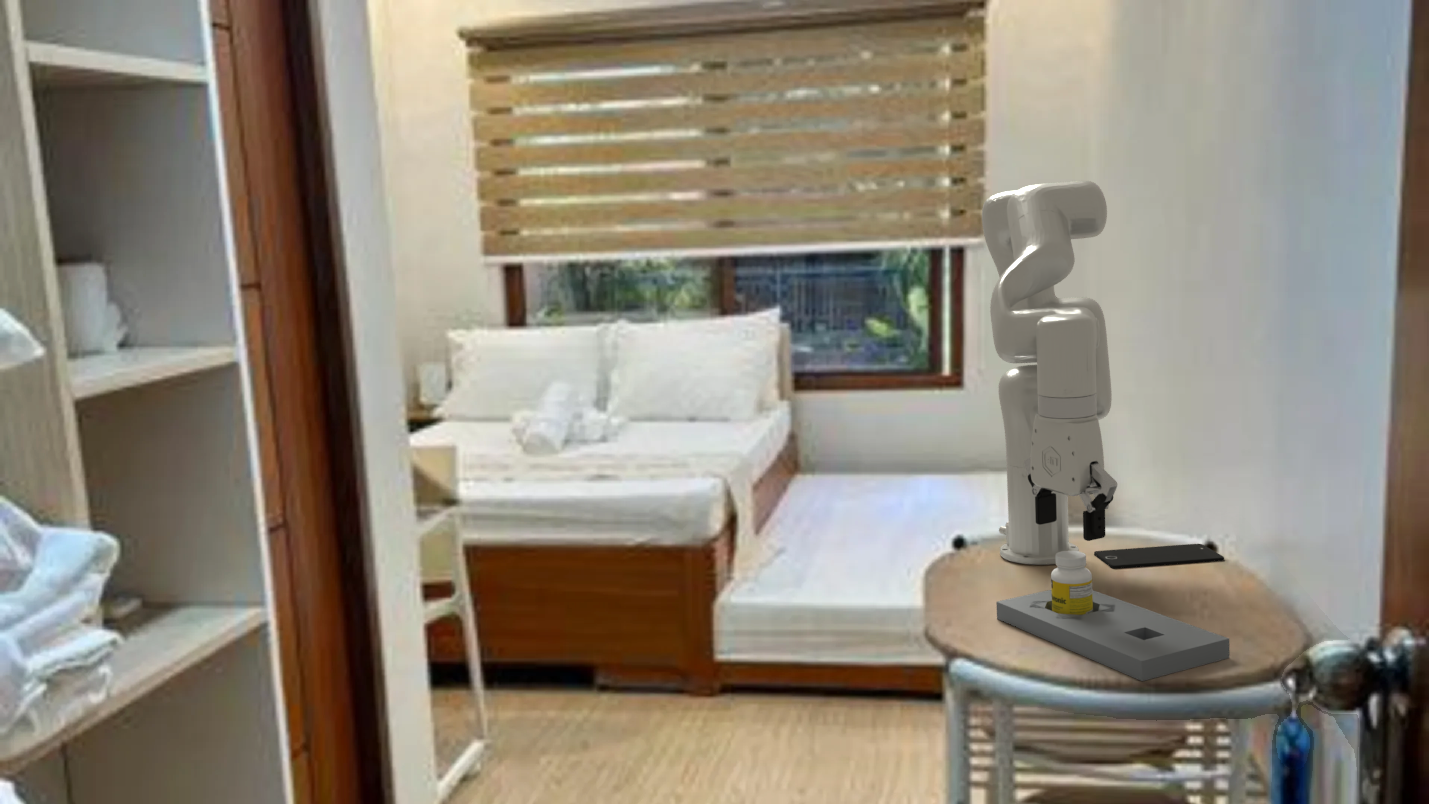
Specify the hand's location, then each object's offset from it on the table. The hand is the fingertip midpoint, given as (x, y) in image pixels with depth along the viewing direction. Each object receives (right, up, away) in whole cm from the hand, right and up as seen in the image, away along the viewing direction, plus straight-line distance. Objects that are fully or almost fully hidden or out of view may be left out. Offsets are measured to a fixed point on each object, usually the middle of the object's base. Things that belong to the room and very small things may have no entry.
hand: (1069, 530), depth 163 cm
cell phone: (+23, -8, +30) cm, 38 cm away
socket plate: (+3, -14, -5) cm, 15 cm away
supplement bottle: (+1, -13, +1) cm, 13 cm away
